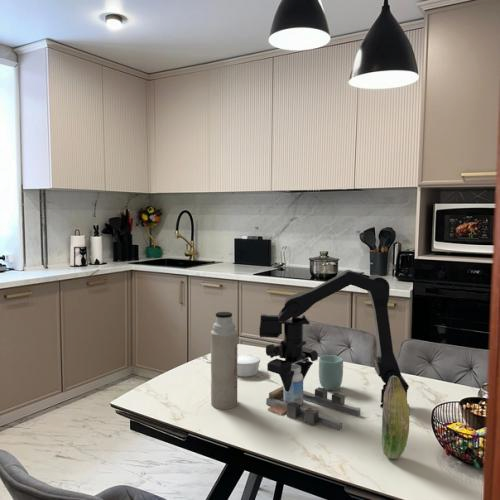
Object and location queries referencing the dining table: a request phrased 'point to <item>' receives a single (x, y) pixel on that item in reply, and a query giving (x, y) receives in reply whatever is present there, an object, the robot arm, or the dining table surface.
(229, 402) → the thermos bottle
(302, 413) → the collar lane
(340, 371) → the cup
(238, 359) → the ramekin
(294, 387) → the pill bottle
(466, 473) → the dining table surface
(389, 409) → the vegetable
